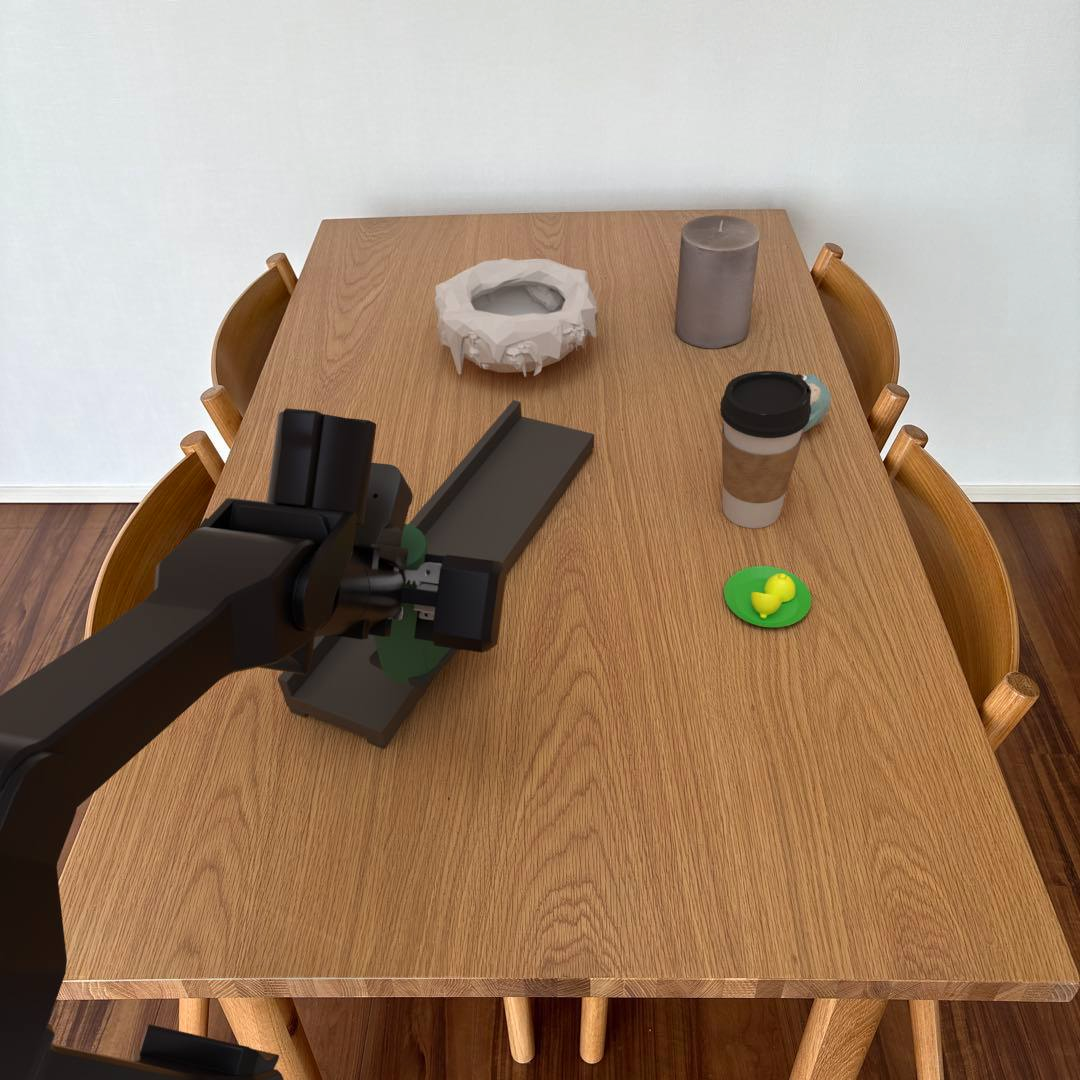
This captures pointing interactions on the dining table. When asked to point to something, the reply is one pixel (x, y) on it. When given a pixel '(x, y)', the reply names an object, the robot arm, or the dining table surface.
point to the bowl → (515, 314)
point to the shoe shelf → (449, 529)
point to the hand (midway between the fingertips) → (407, 590)
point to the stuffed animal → (816, 400)
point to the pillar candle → (716, 280)
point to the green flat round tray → (767, 596)
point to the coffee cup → (761, 443)
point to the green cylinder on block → (410, 632)
